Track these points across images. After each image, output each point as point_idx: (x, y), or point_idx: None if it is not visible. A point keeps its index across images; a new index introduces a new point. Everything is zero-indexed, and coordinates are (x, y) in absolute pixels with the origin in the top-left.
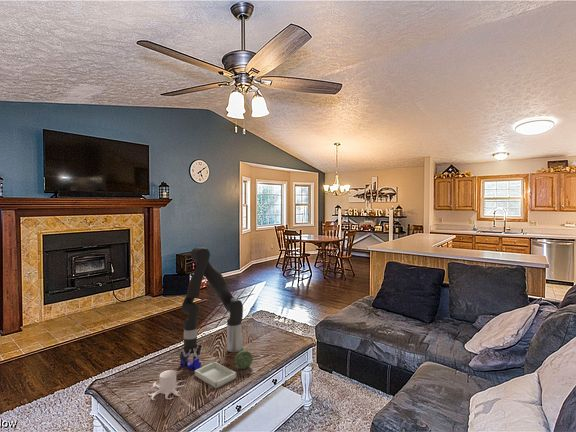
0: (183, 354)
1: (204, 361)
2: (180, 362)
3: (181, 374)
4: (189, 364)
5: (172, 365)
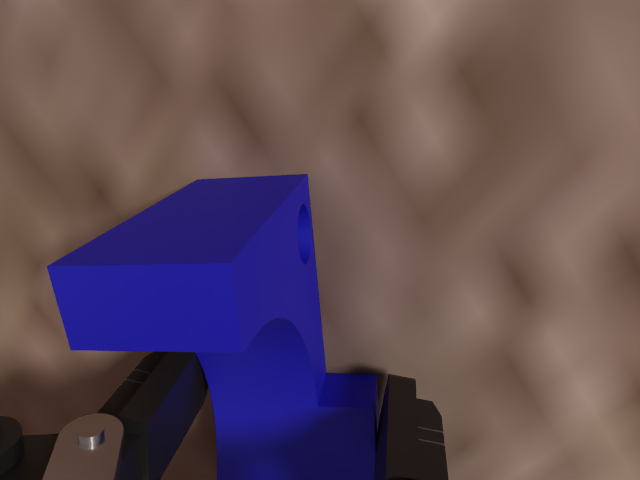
0: (168, 291)
1: (603, 458)
2: (164, 202)
3: (58, 420)
4: (260, 403)
5: (92, 5)
